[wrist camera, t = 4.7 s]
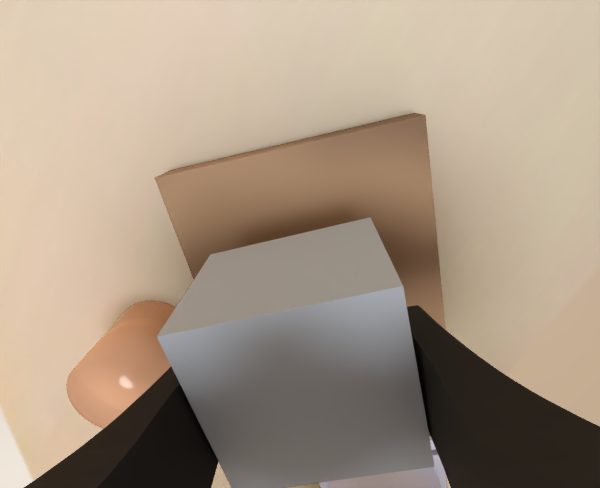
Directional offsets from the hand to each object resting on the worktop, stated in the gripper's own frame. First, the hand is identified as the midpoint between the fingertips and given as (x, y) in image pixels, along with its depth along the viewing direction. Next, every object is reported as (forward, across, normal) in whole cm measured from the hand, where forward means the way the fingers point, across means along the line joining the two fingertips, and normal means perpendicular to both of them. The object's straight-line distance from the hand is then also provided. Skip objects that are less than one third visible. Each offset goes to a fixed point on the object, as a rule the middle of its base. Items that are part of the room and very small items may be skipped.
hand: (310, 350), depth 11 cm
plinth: (+7, 0, 0) cm, 7 cm away
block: (+2, 0, 0) cm, 2 cm away
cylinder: (+7, +10, +3) cm, 12 cm away
